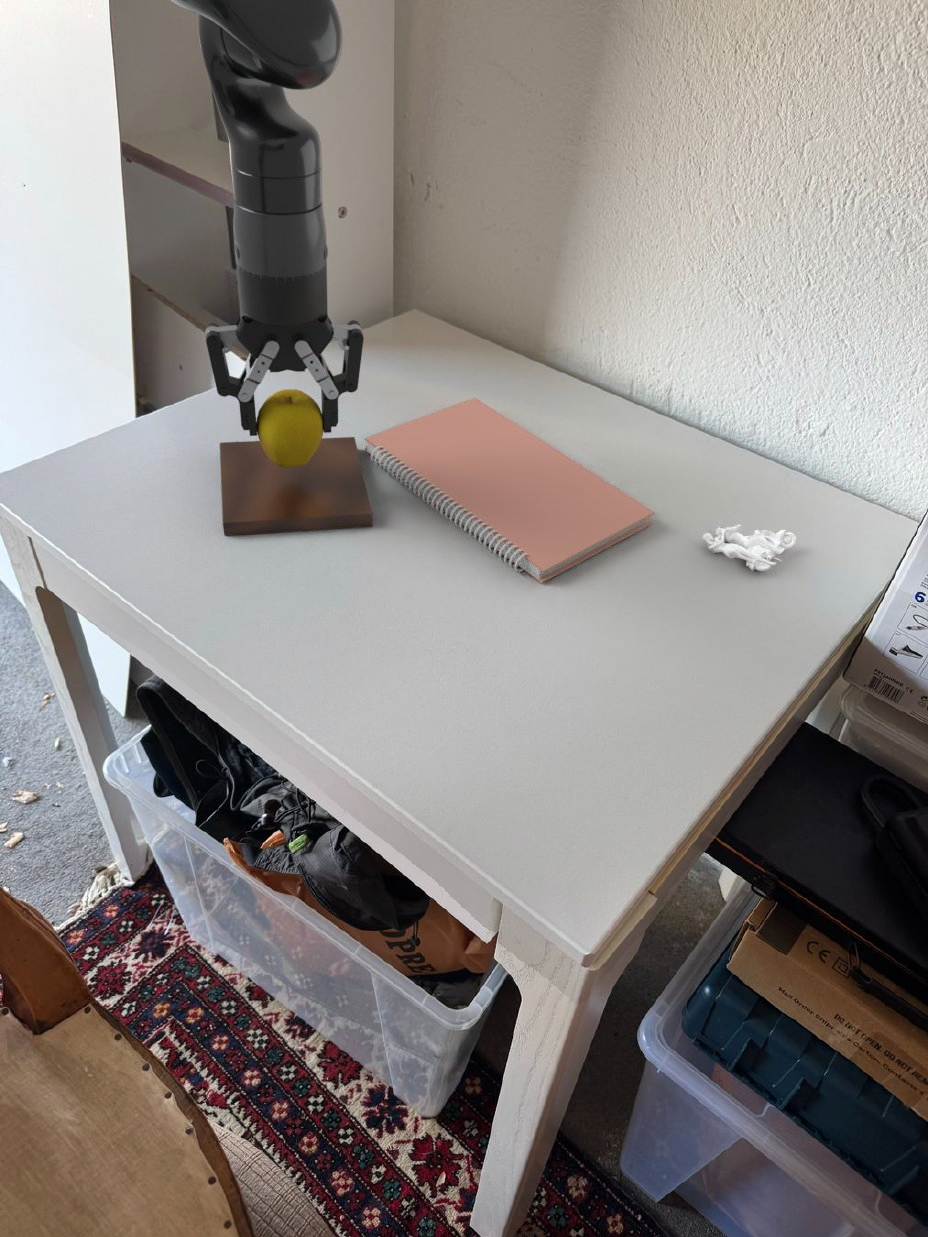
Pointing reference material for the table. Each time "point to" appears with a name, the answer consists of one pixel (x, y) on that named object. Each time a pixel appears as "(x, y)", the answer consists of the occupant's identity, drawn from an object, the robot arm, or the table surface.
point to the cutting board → (293, 489)
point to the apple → (290, 427)
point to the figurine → (751, 545)
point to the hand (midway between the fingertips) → (289, 429)
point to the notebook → (508, 487)
